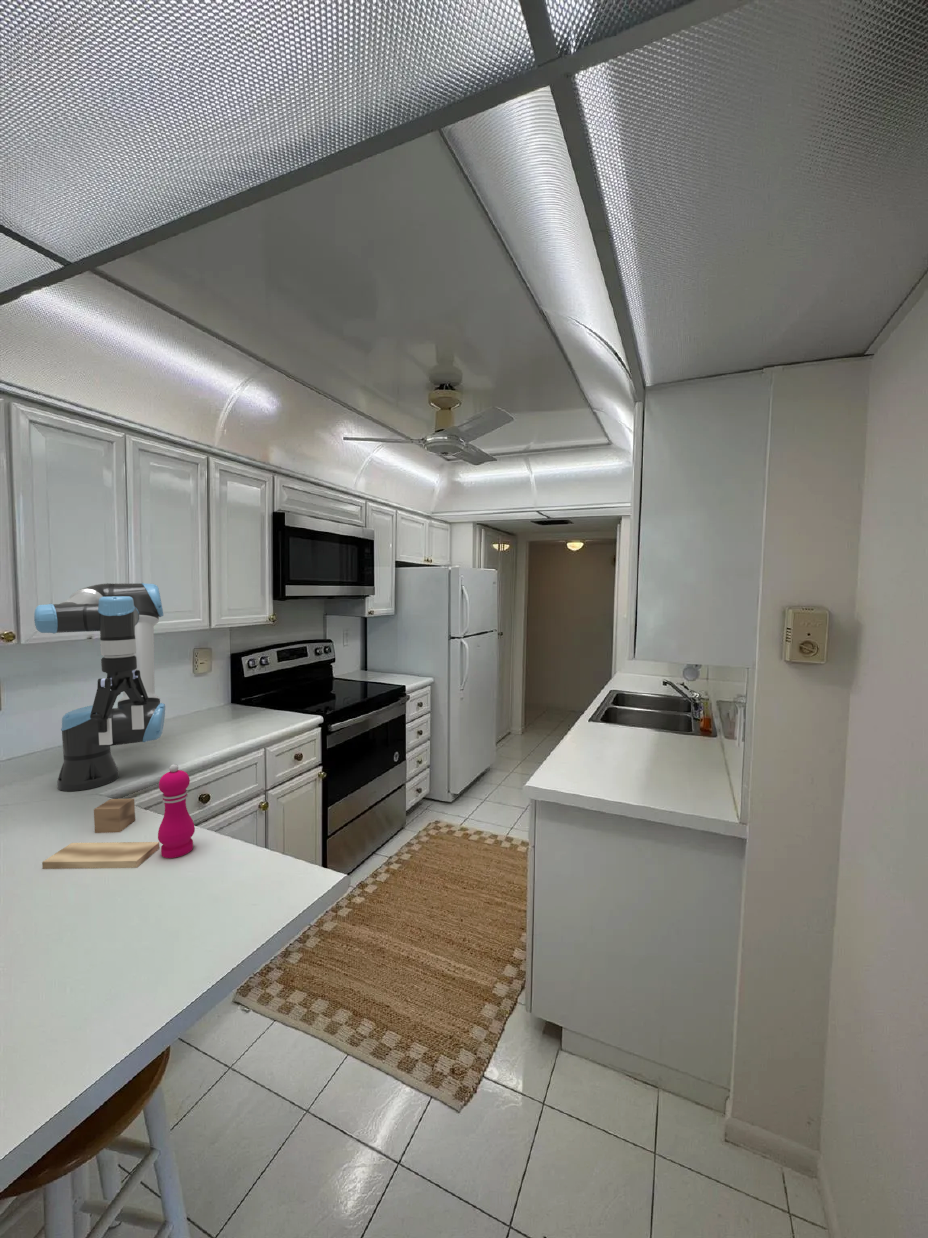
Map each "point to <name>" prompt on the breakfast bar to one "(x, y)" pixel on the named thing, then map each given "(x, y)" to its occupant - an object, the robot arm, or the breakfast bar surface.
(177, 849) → the pepper mill
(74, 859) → the oak board
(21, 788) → the breakfast bar surface
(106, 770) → the robot arm
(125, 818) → the walnut block
